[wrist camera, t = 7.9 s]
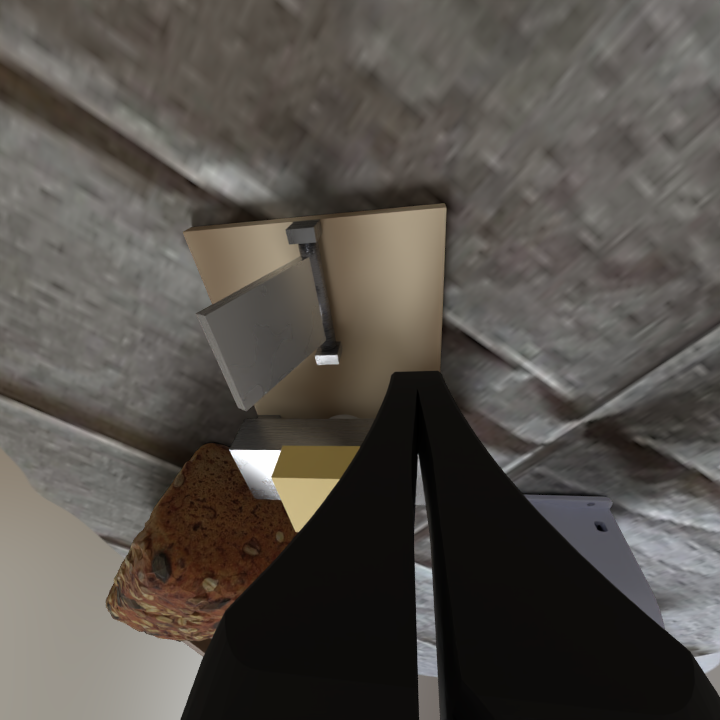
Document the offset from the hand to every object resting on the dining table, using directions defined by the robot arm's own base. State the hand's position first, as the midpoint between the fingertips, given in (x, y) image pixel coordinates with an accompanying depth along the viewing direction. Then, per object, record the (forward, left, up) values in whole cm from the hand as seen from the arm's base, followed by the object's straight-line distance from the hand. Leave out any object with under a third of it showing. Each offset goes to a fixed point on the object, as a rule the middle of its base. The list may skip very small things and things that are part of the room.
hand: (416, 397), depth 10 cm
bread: (+18, +22, -9) cm, 30 cm away
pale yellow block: (+4, +10, -8) cm, 13 cm away
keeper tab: (+6, 0, -5) cm, 8 cm away
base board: (+4, +5, -9) cm, 11 cm away
